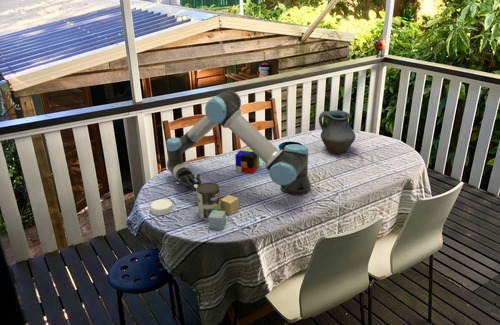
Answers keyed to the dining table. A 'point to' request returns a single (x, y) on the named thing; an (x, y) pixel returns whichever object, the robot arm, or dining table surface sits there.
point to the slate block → (217, 220)
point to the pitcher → (336, 131)
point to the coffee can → (208, 199)
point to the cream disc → (161, 207)
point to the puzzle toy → (246, 161)
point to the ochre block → (229, 204)
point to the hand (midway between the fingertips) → (200, 192)
